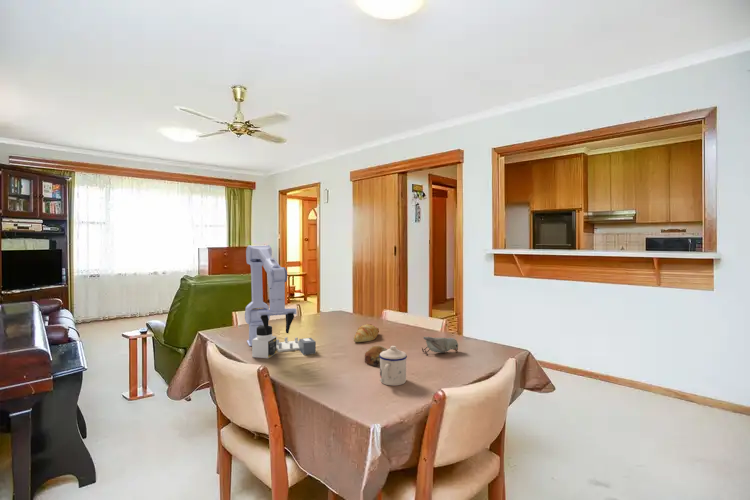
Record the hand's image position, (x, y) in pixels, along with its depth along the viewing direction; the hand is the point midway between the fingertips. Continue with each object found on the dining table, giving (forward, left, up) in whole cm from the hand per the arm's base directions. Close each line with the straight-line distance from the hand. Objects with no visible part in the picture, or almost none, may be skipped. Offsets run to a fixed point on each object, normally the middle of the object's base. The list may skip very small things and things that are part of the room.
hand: (277, 333), depth 153 cm
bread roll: (+19, +34, -10) cm, 40 cm away
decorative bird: (+18, +63, -10) cm, 67 cm away
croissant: (-15, +44, -10) cm, 48 cm away
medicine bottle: (-7, -4, -10) cm, 13 cm away
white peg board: (-15, +8, -10) cm, 20 cm away
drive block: (-5, +13, -10) cm, 17 cm away
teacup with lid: (+40, +29, -10) cm, 51 cm away
